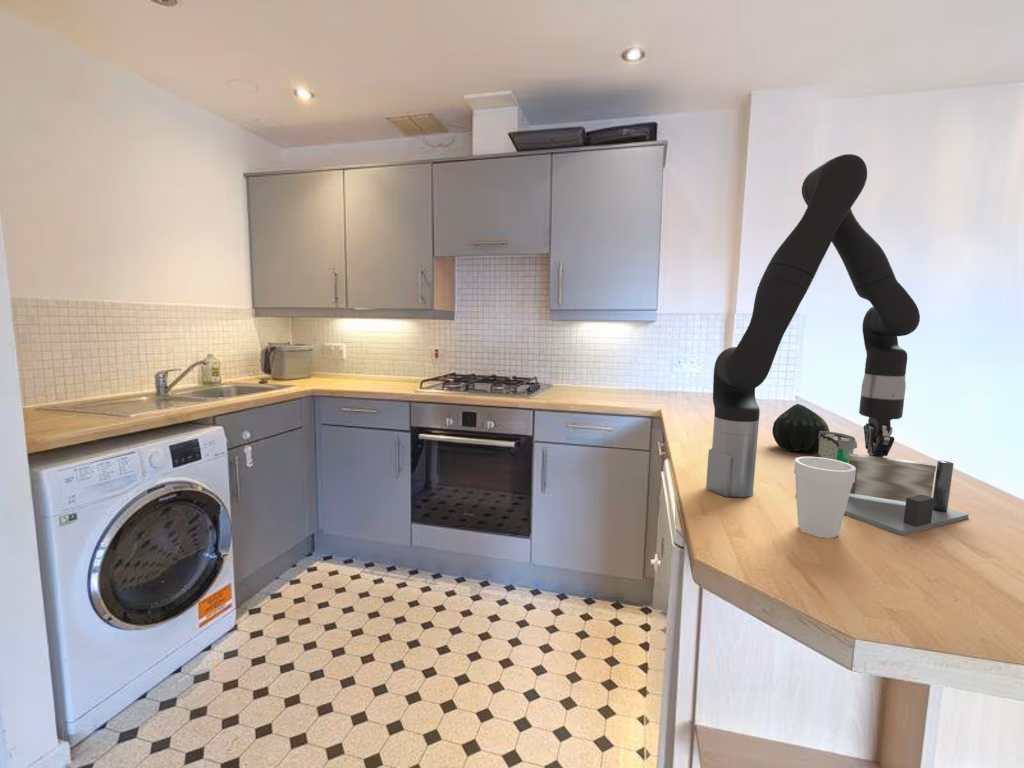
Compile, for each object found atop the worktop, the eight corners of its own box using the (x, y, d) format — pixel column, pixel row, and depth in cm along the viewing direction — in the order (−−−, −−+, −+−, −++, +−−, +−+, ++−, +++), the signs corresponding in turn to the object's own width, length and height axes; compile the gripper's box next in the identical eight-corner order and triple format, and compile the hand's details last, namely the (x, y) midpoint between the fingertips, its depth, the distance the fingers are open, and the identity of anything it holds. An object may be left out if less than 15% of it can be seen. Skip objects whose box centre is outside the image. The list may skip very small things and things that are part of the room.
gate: (928, 503, 98) (933, 463, 97) (930, 506, 97) (936, 465, 96) (844, 490, 105) (848, 453, 104) (845, 493, 104) (849, 455, 103)
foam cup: (849, 547, 81) (857, 475, 80) (788, 534, 86) (794, 465, 85) (846, 527, 89) (853, 461, 88) (789, 516, 94) (795, 453, 93)
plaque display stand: (902, 535, 86) (909, 477, 85) (795, 496, 106) (800, 449, 104) (968, 518, 95) (975, 465, 93) (858, 485, 114) (863, 440, 113)
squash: (823, 443, 133) (830, 400, 140) (765, 436, 143) (774, 396, 149) (827, 467, 142) (833, 425, 149) (772, 459, 152) (780, 420, 158)
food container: (863, 481, 117) (868, 442, 115) (836, 479, 118) (840, 441, 117) (840, 467, 129) (843, 431, 127) (815, 465, 130) (818, 430, 129)
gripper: (915, 401, 95) (905, 483, 97) (893, 392, 107) (885, 465, 109) (870, 398, 98) (861, 478, 100) (853, 390, 110) (846, 461, 112)
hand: (873, 471), depth 105 cm, fingers closed
